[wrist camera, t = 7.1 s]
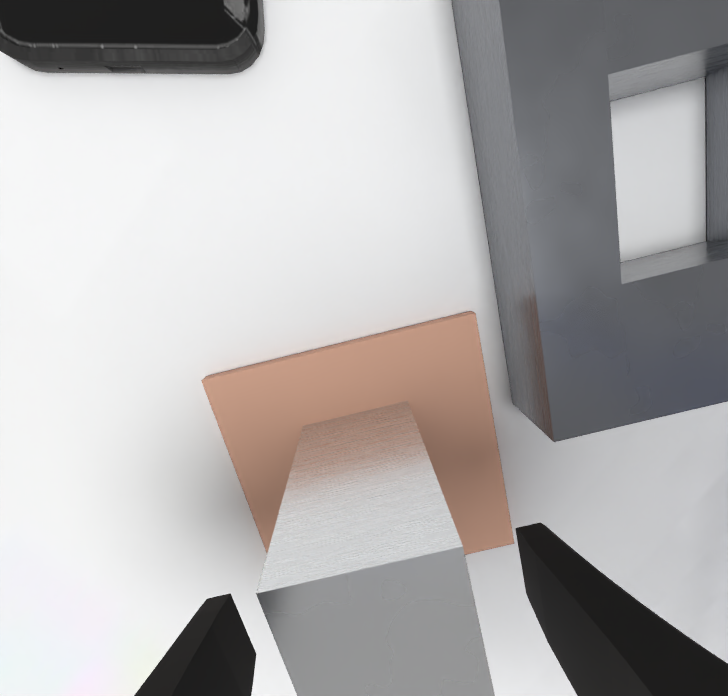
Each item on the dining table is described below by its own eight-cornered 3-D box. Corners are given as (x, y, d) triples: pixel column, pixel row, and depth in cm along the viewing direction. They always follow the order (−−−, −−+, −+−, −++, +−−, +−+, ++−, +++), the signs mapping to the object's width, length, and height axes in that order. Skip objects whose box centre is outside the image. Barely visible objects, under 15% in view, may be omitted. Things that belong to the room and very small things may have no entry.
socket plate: (770, 342, 14) (878, 365, 11) (512, 403, 14) (553, 441, 11) (788, -118, 11) (954, -258, 8) (447, -25, 11) (483, -126, 8)
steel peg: (428, 491, 15) (494, 696, 8) (330, 514, 15) (313, 736, 8) (407, 400, 14) (463, 546, 7) (303, 425, 14) (256, 593, 7)
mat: (509, 534, 16) (514, 543, 15) (285, 585, 16) (283, 596, 16) (470, 311, 13) (475, 313, 13) (206, 376, 14) (201, 380, 13)
